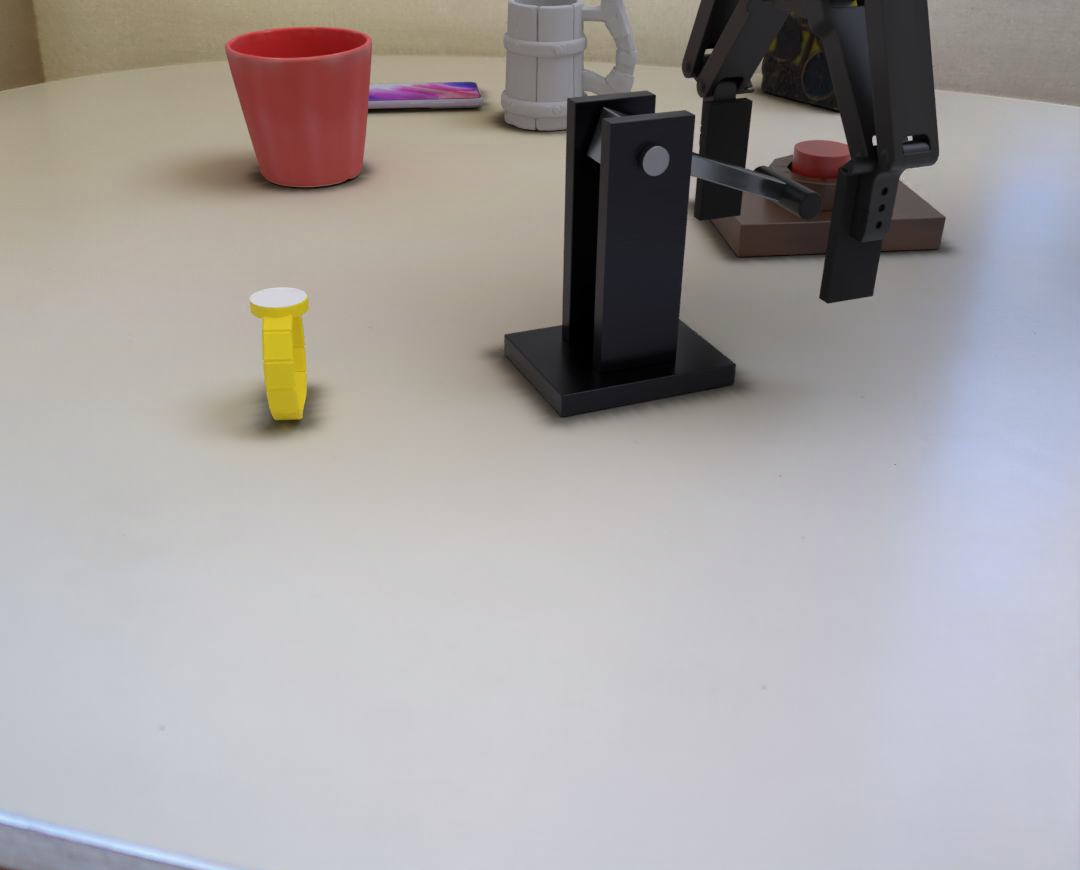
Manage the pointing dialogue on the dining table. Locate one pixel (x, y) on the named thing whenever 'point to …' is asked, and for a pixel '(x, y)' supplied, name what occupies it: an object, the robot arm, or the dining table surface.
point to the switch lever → (738, 177)
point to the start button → (819, 158)
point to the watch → (283, 349)
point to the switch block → (822, 221)
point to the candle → (798, 65)
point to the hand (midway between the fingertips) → (776, 254)
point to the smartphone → (425, 95)
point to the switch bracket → (622, 266)
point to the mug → (559, 59)
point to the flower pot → (304, 101)
